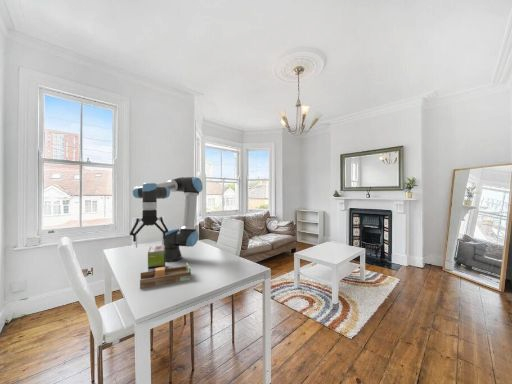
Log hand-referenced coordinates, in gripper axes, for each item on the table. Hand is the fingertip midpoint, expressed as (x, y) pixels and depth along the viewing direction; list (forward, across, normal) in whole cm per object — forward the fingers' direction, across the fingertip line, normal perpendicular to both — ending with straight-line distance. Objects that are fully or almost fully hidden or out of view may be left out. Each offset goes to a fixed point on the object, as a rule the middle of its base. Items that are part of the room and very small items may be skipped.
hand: (149, 245), depth 128 cm
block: (+19, +6, +1) cm, 20 cm away
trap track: (+21, +9, -1) cm, 23 cm away
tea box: (+22, +5, +19) cm, 29 cm away
